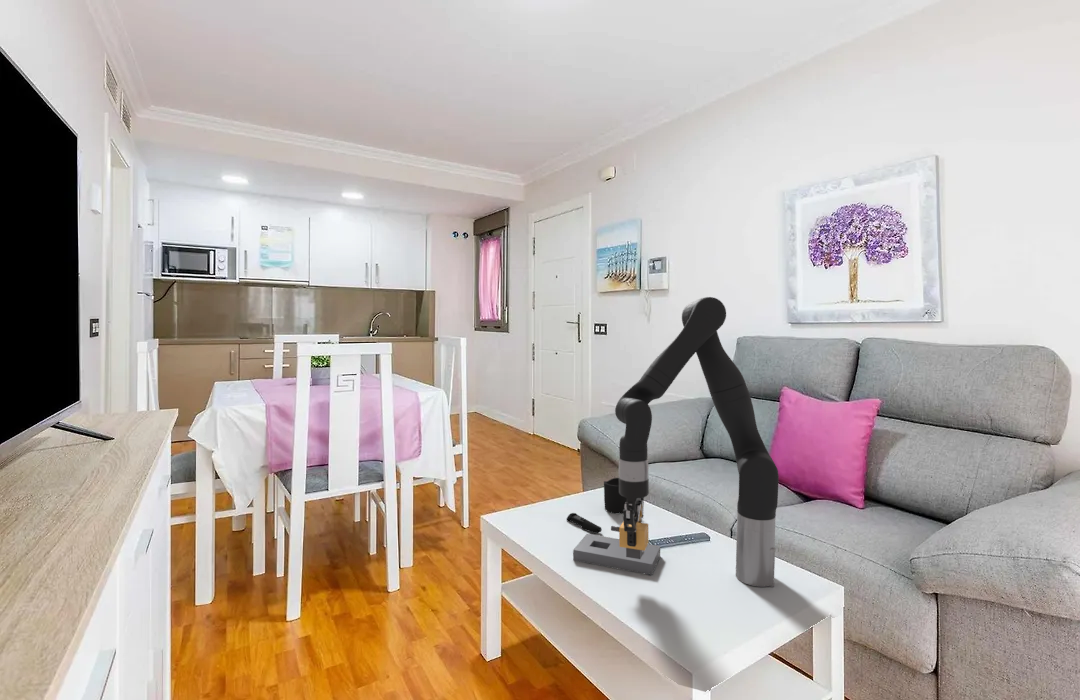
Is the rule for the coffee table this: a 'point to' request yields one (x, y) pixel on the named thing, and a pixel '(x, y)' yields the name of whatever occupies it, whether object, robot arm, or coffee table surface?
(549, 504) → the coffee table surface
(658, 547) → the socket board
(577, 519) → the electric trimmer
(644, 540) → the plug
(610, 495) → the pen holder
